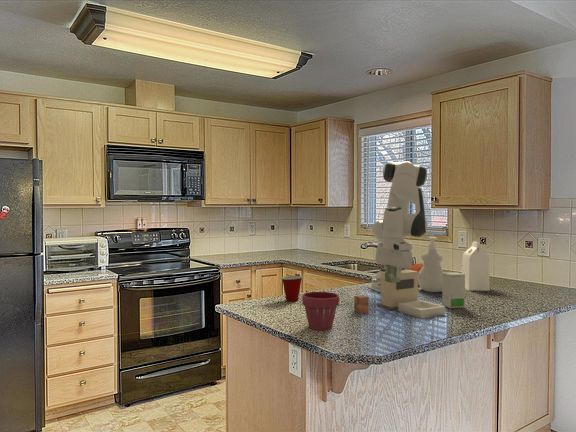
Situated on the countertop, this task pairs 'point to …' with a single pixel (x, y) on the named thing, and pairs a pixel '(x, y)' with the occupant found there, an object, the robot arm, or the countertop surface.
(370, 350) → the countertop surface
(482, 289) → the milk
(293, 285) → the plastic cup
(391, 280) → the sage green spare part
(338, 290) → the countertop surface
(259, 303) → the countertop surface
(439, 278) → the soap bottle
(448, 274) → the skincare box
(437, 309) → the parts tray
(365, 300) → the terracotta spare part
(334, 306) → the plant pot
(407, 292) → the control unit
